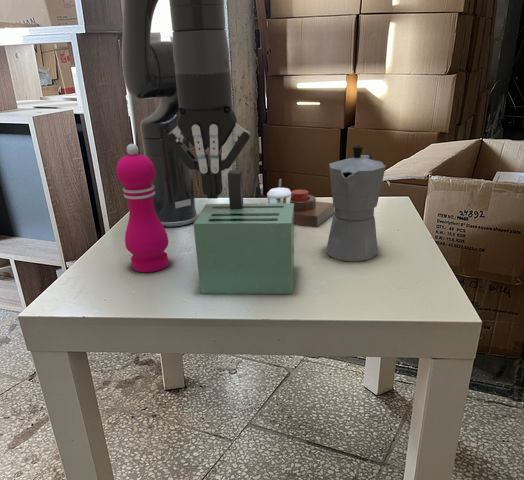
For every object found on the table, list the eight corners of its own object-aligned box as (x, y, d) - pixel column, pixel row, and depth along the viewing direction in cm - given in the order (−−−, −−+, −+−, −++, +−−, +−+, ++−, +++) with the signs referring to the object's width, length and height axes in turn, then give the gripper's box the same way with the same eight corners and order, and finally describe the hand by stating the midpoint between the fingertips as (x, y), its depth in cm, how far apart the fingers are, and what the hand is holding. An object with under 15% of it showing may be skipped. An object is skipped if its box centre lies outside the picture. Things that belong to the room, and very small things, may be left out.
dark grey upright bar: (229, 208, 79) (227, 173, 77) (232, 204, 81) (229, 170, 79) (241, 208, 79) (239, 173, 76) (243, 204, 81) (241, 169, 78)
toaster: (200, 293, 80) (193, 223, 74) (211, 268, 88) (205, 203, 82) (291, 294, 78) (291, 222, 73) (294, 268, 87) (293, 202, 81)
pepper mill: (136, 277, 86) (113, 150, 76) (124, 263, 92) (102, 143, 81) (177, 268, 89) (161, 144, 78) (164, 255, 94) (147, 138, 84)
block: (264, 220, 110) (263, 201, 108) (284, 207, 117) (284, 189, 115) (317, 227, 105) (317, 207, 103) (334, 213, 113) (335, 194, 111)
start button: (288, 201, 109) (288, 193, 108) (295, 197, 112) (295, 188, 111) (304, 203, 107) (304, 194, 106) (311, 198, 110) (311, 190, 109)
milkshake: (292, 230, 104) (292, 179, 99) (290, 239, 99) (290, 186, 94) (269, 230, 104) (268, 179, 99) (267, 239, 100) (265, 186, 95)
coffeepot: (369, 269, 85) (378, 154, 76) (314, 262, 89) (316, 152, 79) (388, 239, 97) (398, 137, 88) (339, 234, 101) (344, 135, 91)
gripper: (253, 66, 73) (258, 190, 82) (162, 69, 75) (176, 191, 84) (247, 69, 67) (253, 203, 76) (147, 72, 68) (165, 204, 77)
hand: (213, 197), depth 80 cm, fingers closed
